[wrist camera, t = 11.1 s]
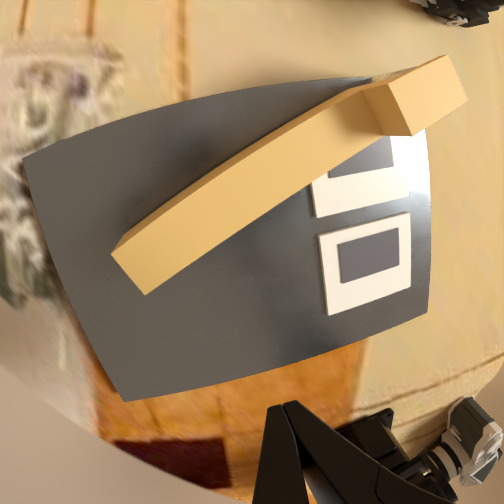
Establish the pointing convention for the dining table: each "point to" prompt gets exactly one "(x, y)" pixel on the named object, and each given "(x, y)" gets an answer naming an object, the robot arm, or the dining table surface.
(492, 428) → the camera
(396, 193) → the label tile
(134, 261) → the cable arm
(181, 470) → the dining table surface
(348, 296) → the label tile
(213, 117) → the chassis plate
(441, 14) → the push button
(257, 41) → the dining table surface
